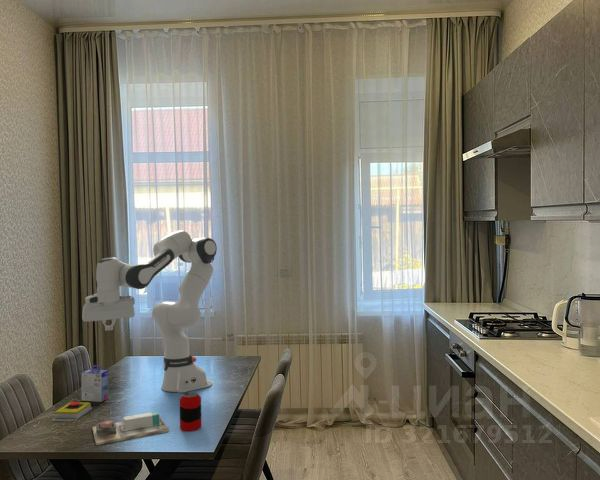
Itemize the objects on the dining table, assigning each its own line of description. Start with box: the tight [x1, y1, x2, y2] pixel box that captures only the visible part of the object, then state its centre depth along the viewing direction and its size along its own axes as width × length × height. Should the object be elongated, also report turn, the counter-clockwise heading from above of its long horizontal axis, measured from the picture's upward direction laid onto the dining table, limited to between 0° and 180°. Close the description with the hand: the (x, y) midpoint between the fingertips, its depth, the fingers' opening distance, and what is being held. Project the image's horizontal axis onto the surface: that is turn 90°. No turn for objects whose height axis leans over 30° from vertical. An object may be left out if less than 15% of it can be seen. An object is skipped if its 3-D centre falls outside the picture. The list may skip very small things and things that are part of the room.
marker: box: [122, 411, 160, 430], centre depth 185 cm, size 4×12×4 cm, turn 117°
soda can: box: [179, 391, 202, 432], centre depth 185 cm, size 8×8×12 cm
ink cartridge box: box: [81, 364, 109, 403], centre depth 218 cm, size 10×6×14 cm, turn 78°
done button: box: [99, 420, 112, 429], centre depth 179 cm, size 4×4×3 cm
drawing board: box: [91, 414, 170, 446], centre depth 183 cm, size 24×16×3 cm, turn 117°
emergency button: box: [52, 401, 93, 422], centre depth 201 cm, size 9×4×15 cm
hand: (109, 330), depth 211 cm, fingers closed
